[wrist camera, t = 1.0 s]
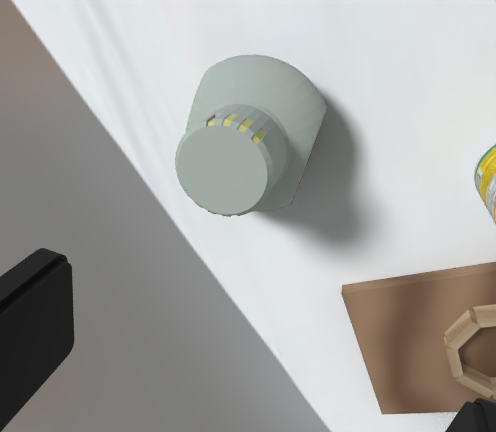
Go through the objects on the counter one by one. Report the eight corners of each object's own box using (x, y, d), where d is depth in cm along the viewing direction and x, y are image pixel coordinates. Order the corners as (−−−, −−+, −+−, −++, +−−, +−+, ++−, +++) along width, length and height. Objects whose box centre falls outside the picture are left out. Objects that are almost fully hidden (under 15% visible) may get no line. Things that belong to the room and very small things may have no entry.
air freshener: (291, 206, 35) (262, 273, 26) (198, 171, 36) (141, 224, 27) (340, 73, 29) (325, 102, 21) (230, 35, 30) (171, 49, 22)
